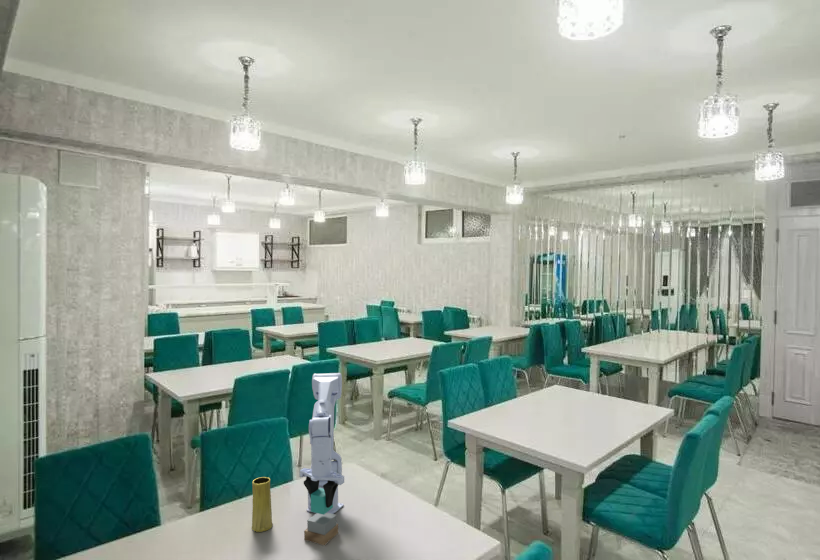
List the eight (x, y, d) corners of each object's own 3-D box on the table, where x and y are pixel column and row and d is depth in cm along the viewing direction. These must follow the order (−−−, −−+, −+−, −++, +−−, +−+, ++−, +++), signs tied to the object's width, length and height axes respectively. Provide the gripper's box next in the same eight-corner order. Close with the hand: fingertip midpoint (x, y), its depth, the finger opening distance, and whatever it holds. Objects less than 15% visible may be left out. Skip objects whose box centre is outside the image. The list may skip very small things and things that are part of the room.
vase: (247, 527, 142) (247, 480, 142) (266, 519, 146) (265, 474, 146) (258, 534, 138) (257, 486, 138) (276, 526, 142) (275, 480, 142)
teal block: (311, 511, 135) (310, 494, 135) (320, 504, 139) (320, 487, 139) (323, 514, 133) (323, 497, 133) (332, 507, 137) (332, 490, 137)
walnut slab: (304, 541, 135) (304, 530, 135) (319, 529, 141) (318, 519, 141) (324, 546, 132) (324, 536, 132) (338, 534, 138) (338, 524, 138)
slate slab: (307, 530, 135) (307, 520, 135) (319, 520, 140) (319, 510, 140) (324, 535, 132) (324, 524, 132) (336, 524, 138) (336, 514, 138)
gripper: (292, 459, 136) (293, 505, 136) (334, 467, 130) (335, 515, 130) (307, 451, 142) (308, 495, 142) (348, 458, 136) (348, 504, 136)
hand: (322, 504), depth 136 cm, fingers closed on teal block, 4 cm apart
